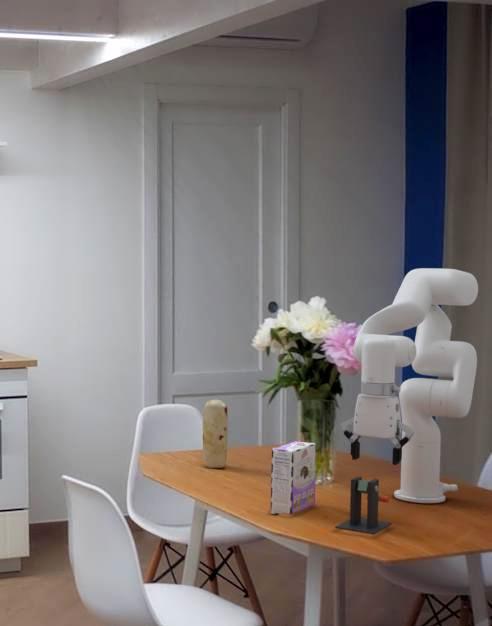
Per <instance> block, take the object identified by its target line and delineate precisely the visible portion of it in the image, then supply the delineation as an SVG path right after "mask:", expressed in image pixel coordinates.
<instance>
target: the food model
mask: <svg viewBox="0 0 492 626" xmlns="http://www.w3.org/2000/svg"><path fill="white" fill-rule="evenodd" d="M228 424H229V420H228V405H227V403H226V402H223V401H222V400H220V399H211V400H207V401H206V402H205V405H204V407H203V411H202V460H203V464H204V466H205V467H207V468H208V469H213V468H219V469H222V468H224V467H226V464H227V456H228V443H229V441H228V436H229V435H228V433H229V429H228V428H229V425H228Z"/></svg>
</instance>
